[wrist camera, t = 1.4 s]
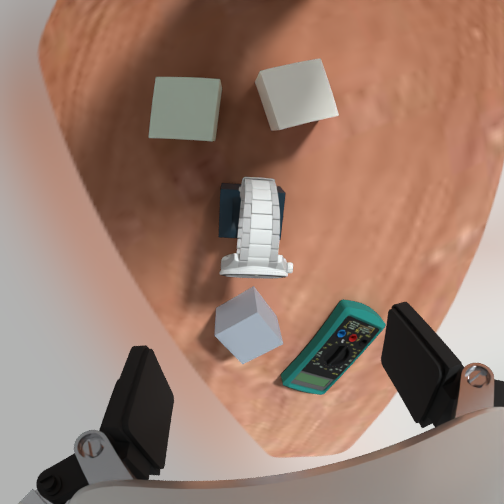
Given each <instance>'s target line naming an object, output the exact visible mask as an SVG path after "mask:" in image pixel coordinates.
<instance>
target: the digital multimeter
mask: <svg viewBox="0 0 504 504" xmlns="http://www.w3.org/2000/svg"><path fill="white" fill-rule="evenodd" d="M384 328H385V323H384V321H383V320H382V319H381V317H380V316H379V315H378V314H377V313H376V312H375V311H374V310H373V309H371V308H370V307H368V306H366V305H364V304H362V303H359V302H355V301H349V300H344V299H343V300H341V301H340V302H339V303H338V305H337V306H336V308H335V309H334V311H333V312H332V314H331V315H330V317H329V318H328V320H327V321H326V322H325V323H324V325H323V326H322V327H321V329H320V330H319V331H318V333H317V334H316V335H315V337H314V338H313V339H312V340H311V342H310V343H309V344H308V345H307V346H306V348H305V349H304V350H303V351H302V352H301V354H300V355H299V356H298V357H297V358H296V359H295V360H294V361H293V362H292V363H291V364H290V365H289V366H288V368H287V369H286V370H285V371H284V372H283V373H282V374H281V378H282V383H283V385H284V386H286V387H289V388H292V389H295V390H298V391H302V392H306V393H312V394H319V395H323V394H324V393H325V392H326V391H327V390H328V389H329V388H330V387H331V386H332V385H333V384H334V383H335V382H336V381H337V380H338V379H339V378H340V377H341V376H342V375H343V374H344V372H345V371H346V370H347V369H348V368H349V367H350V366H351V365H352V364H353V363H354V362H355V360H356V359H357V358H358V357H359V356H360V355H361V354H362V353H363V352H364V351H365V350H366V348H367V347H368V346H369V345H370V344H371V343H372V342H373V340H374V339H375V338H376V337H377V336H378V335H379V334H380V332H381V331H382V330H383V329H384ZM330 336H331V337H330ZM347 346H348V347H347ZM320 348H321V349H320ZM315 354H316V355H315ZM308 362H309V363H308Z"/></svg>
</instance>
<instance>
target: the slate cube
mask: <svg viewBox="0 0 504 504" xmlns="http://www.w3.org/2000/svg"><path fill="white" fill-rule="evenodd" d="M215 337H216V338H217V339H218V340H219V341H220V342H221V343H222V344H223V345H224V346H225V347H226V348H227V349H228V350H229V351H230V352H231V353H232V354H233V355H234V356H235V357H236V358H237V359H238V360H239V361H240V362H241V363H242V364H244V363H246V362H248V361H250V360H252V359H254V358H256V357H259V356H261V355H263V354H265V353H266V352H268V351H270V350H272V349H274V348H276V347H278V346H280V345H282V344H283V341H282V337H281V332H280V328H279V324H278V320H277V316H276V315H275V314H274V312H273V311H272V310H271V308H270V307H269V306H268V304H267V303H266V302H265V300H264V299H263V298H262V296H261V295H260V294H259V293H258V291H257V290H256V289H255V287H254V286H253V287H251V288H250V289H248V290H246V291H245V292H243V293H241V294H239V295H238V296H236V297H234V298H232V299H231V300H229V301H227V302H226V303H224V304H222V305H220V306H219V307H217V308H216V319H215Z"/></svg>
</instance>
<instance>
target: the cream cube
mask: <svg viewBox="0 0 504 504" xmlns="http://www.w3.org/2000/svg"><path fill="white" fill-rule="evenodd" d="M255 84H256V87H257V90H258V92H259V95H260V98H261V101H262V104H263V107H264V110H265V113H266V116H267V119H268V122H269V125H270V129H271V131H273V130H282V129H285V128H289V127H293V126H297V125H300V124H304V123H308V122H313V121H317V120H321V119H325V118H330V117H334V116H339V114H338V111H337V107H336V104H335V101H334V97H333V94H332V91H331V88H330V85H329V82H328V79H327V76H326V73H325V70H324V67H323V64H322V61H321V58H320V59H314V60H308V61H303V62H298V63H293V64H288V65H283V66H279V67H274V68H270V69H266V70H262V71H260V72H259V74H258V76H257V78H256V81H255Z"/></svg>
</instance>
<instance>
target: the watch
mask: <svg viewBox="0 0 504 504" xmlns="http://www.w3.org/2000/svg"><path fill="white" fill-rule="evenodd" d="M284 203H285V192H284V191H283V190H282V188H281V187H280V186H276V184H275V180H274V179H270V178H258V177H244V178H243V179H242V183H241V184H231V183H222V185H221V192H220V214H219V237H224V238H238V241H237V253H234V254H230V255H227V256H224V257H223V258H222V260H221V271H220V275H223V276H228V277H239V278H283V277H287V276H288V273H292V272H293V263H287V262H286V259H285V258H283V255H278V249H279V240H280V239H281V230H282V221H283V212H284Z"/></svg>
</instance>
